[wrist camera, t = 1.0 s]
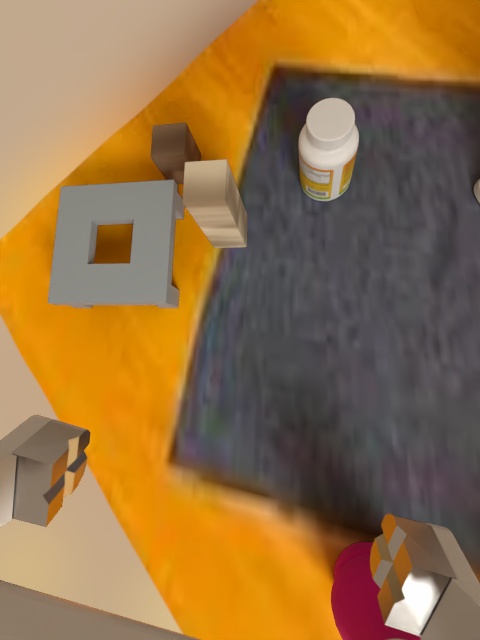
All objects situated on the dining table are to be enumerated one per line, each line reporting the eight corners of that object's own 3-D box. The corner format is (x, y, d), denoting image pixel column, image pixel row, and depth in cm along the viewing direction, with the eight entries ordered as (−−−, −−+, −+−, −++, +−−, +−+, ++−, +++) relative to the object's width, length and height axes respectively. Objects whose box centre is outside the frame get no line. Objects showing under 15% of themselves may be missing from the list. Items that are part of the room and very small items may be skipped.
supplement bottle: (339, 149, 41) (349, 79, 31) (358, 191, 40) (374, 132, 30) (293, 167, 41) (288, 105, 32) (309, 209, 40) (310, 158, 31)
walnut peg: (171, 156, 44) (153, 125, 39) (200, 153, 44) (186, 122, 38) (169, 184, 44) (150, 157, 38) (199, 182, 43) (184, 154, 38)
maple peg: (215, 217, 42) (184, 162, 31) (247, 216, 41) (226, 159, 31) (214, 247, 42) (182, 202, 31) (246, 247, 41) (225, 200, 30)
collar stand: (84, 205, 45) (61, 186, 41) (187, 199, 43) (173, 179, 39) (73, 310, 43) (47, 302, 39) (180, 310, 41) (165, 302, 37)
